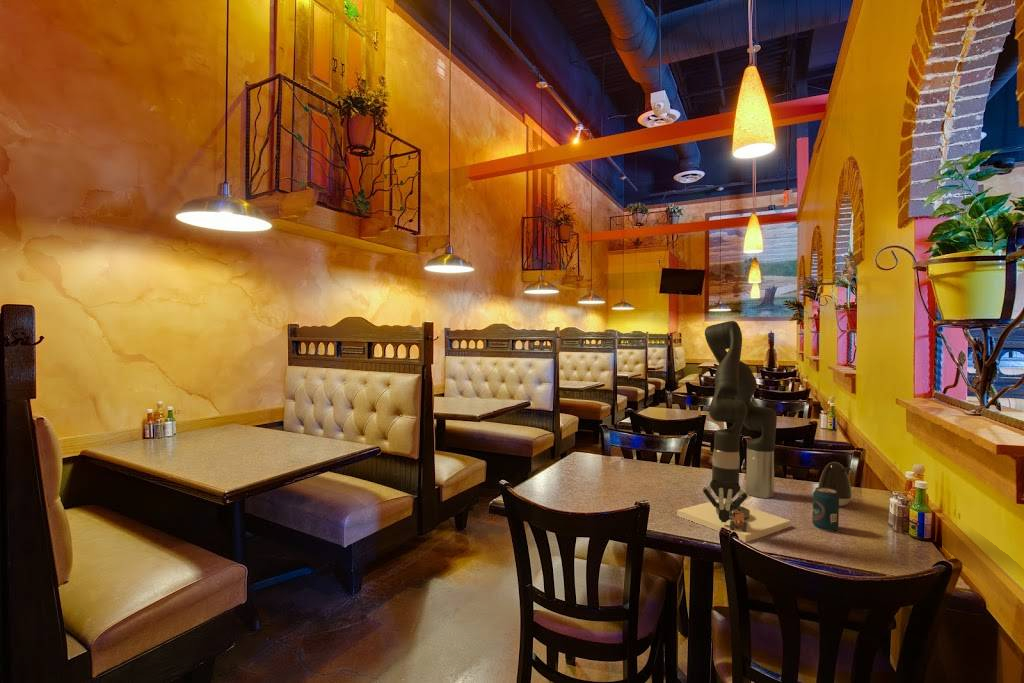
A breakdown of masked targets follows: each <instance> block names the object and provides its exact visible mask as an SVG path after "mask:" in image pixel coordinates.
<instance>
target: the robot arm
mask: <svg viewBox="0 0 1024 683" xmlns="http://www.w3.org/2000/svg"><path fill="white" fill-rule="evenodd" d="M704 336H705V340H706V341H705V342H706V343H707V346H708V347H709V349H710V351H711V353H712V354H713V356H714V358H715V359H716V361H717V363H718V366H717V368H716V370H715V374H714V394H713V396H712V399H711V402H710V403H709V408H708V415H709V417H710V418H711V419H712V420H713V421H714V422H720V423H722V422H723V423H731V424H732V426H730V427H728V428H721V429H717V430H715V432H714V440H713V441H714V442H713V453H712V461H711V462H712V469H711V473H712V474H711V481H710V482H709V485H708V486H706V487H703V488H702V492H703V493H704V495H705V496H706V498H707V499H708V501H709V502H711V503H712V505H713V506H714V507H717V508H718V509H719V520H721V522H725V523H726V522H727V521H728V520H729V511H730V510H731V509H734V510H735V509H736V508H737V507H738V506H739V505H742V503H743V502H745V501H746V499H748V495H749V496H752V497H756V498H761V499H763V498H764V499H770V498H773V497H774V494H775V469H774V468H775V465H774V464H775V460H774V459H775V446H776V445H775V444H776V435H777V434H776V433H777V422H778V421H777V420H778V419H777V417H778V416H777V413H776V410H775V409H773V408H771V407H763V406H758V405H757V406H755V405H754V404H753V403H752V401H751V399H752V397H753V395H754V394H755V392H756V389H757V384H758V383H757V380H756V378H755V375H754V372H753V371H752V369H751V367H750V366H749V365H748V364H746V363H745V362H743V361H741V355H742V347H743V334H742V330H741V327H740V325H739V324H738V322H737V321H735V320H728V321H724V322H720V323H715V324H711V325H709V326H707V327H706V328H705V329H704ZM743 426H744V427H745V428H746V429H748V430H750V431H756V432H761V436H760V437H756V438H752V439H749V440H747V442H746V468H745V469H746V477H745V480H746V481H745V491H743V490H742V489H741V486H740V484H739V483H740V463H741V462H740V459H741V458H740V438H741V432H742V430H743ZM712 492H713V493H714V494H715V496H716V497H717V499H715V498H714V496H713V495H712ZM736 496H737V498H736V499H735V500H733V501H734V502H733V503H732V504H731V501H732V499H734V498H735V497H736ZM724 499H725V508H724ZM716 500H719V503H718V502H716Z"/></svg>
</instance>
